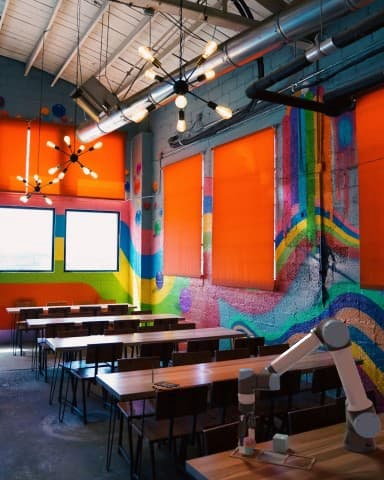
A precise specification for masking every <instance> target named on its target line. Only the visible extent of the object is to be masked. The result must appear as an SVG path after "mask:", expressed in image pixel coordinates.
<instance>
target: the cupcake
mask: <svg viewBox="0 0 384 480" xmlns="http://www.w3.org/2000/svg"><path fill="white" fill-rule="evenodd" d="M249 429H250V428H249ZM250 436H251V429H250V433H249V432H248V436H246V437H244V438H245V454H244V453H242V454H243V455H245V456H251V455H253V453H254V450H255V449H254V448H257V442H256V440H254V439H252V438H250ZM237 445H238V446H239V440H238V443H237Z"/></svg>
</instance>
